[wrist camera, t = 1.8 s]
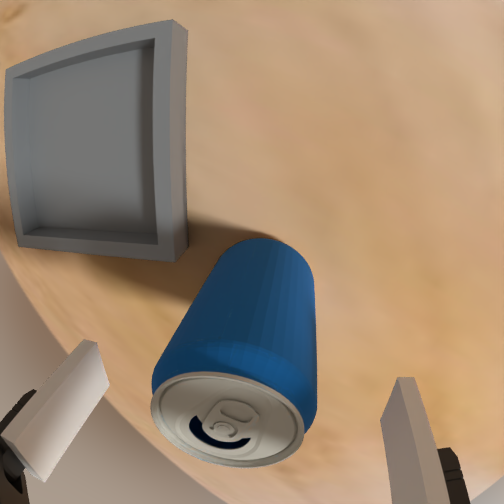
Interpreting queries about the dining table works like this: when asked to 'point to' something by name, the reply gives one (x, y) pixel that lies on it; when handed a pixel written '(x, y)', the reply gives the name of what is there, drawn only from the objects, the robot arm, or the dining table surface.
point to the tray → (101, 145)
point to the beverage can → (242, 361)
